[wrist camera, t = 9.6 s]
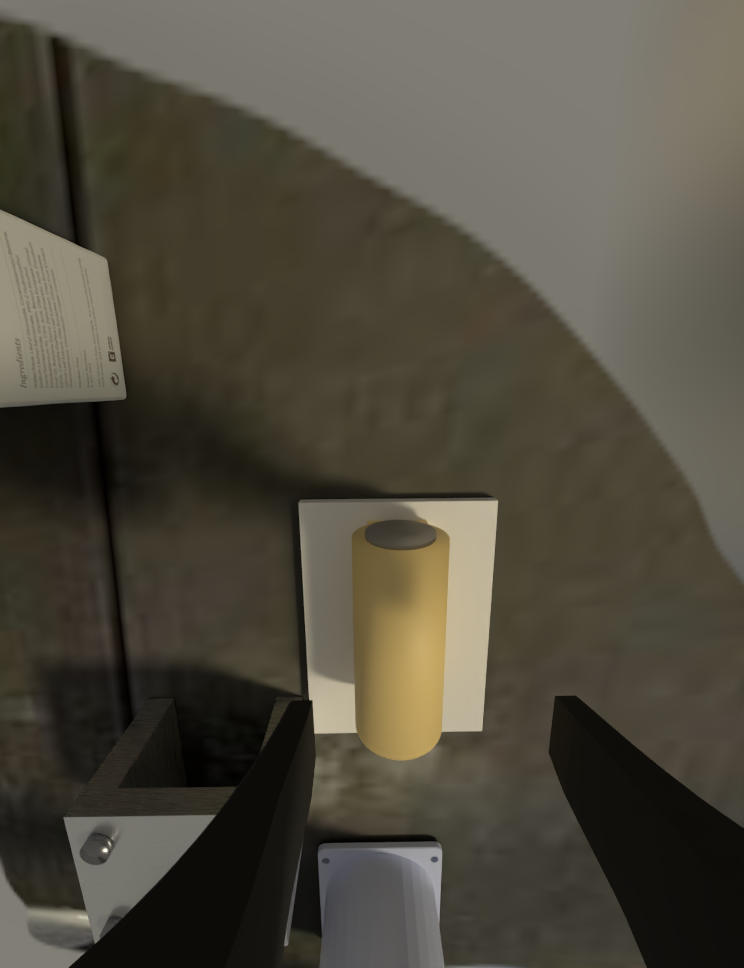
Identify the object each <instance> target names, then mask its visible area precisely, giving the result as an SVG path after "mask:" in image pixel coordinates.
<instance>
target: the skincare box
mask: <svg viewBox="0 0 744 968" xmlns="http://www.w3.org/2000/svg"><path fill="white" fill-rule="evenodd" d="M126 395H127V394H126V387H125V381H124V374H123V366H122V359H121V352H120V345H119V337H118V331H117V324H116V317H115V310H114V304H113V296H112V289H111V282H110V276H109V269H108V262H107V260H106V258H104V257H102V256H100V255H98V254H96V253H94V252H92V251H90V250H87V249H85V248H83V247H80V246H78V245H76V244H74V243H72V242H70V241H68V240H66V239H63V238H61V237H59V236H56V235H54V234H52V233H50V232H48V231H45V230H43V229H41V228H39V227H37V226H35V225H33V224H31V223H29V222H26V221H24V220H22V219H20V218H18V217H15V216H13V215H11V214H9V213H7V212H4V211H2V210H0V408H3V407H18V406H32V405H44V404H57V403H77V402H95V401H111V400H123V399H125V398H126Z"/></svg>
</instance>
